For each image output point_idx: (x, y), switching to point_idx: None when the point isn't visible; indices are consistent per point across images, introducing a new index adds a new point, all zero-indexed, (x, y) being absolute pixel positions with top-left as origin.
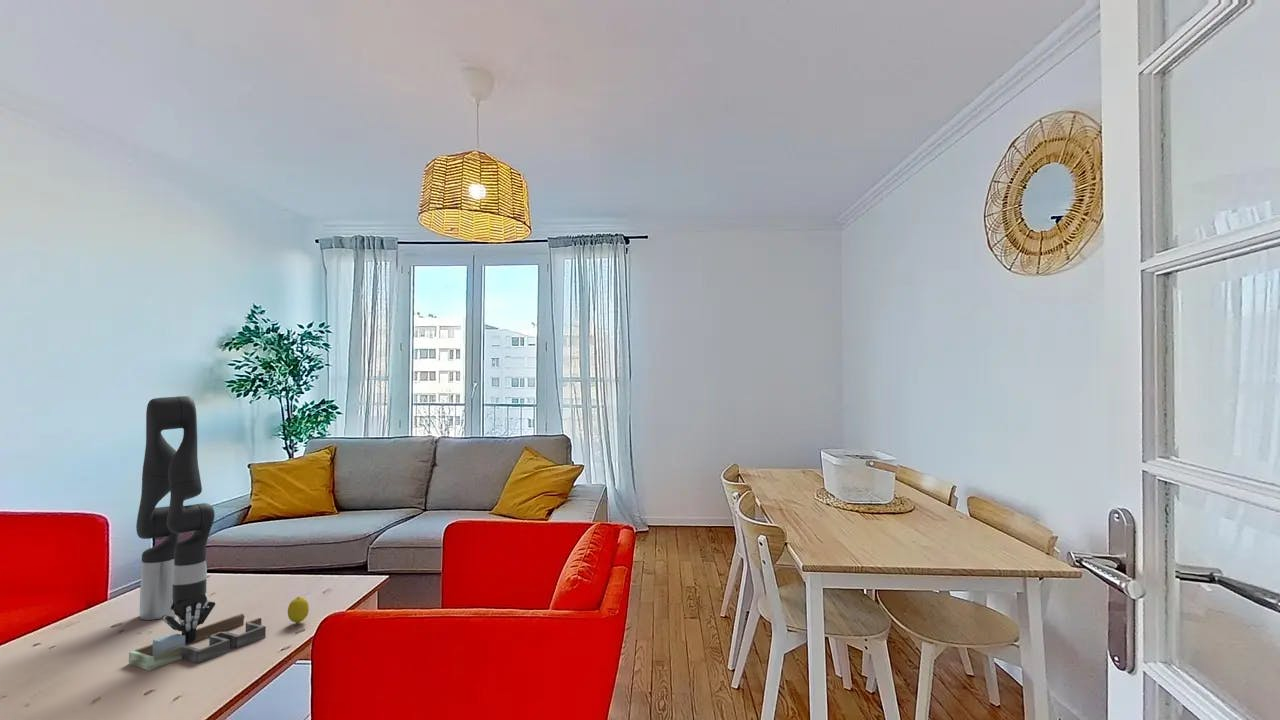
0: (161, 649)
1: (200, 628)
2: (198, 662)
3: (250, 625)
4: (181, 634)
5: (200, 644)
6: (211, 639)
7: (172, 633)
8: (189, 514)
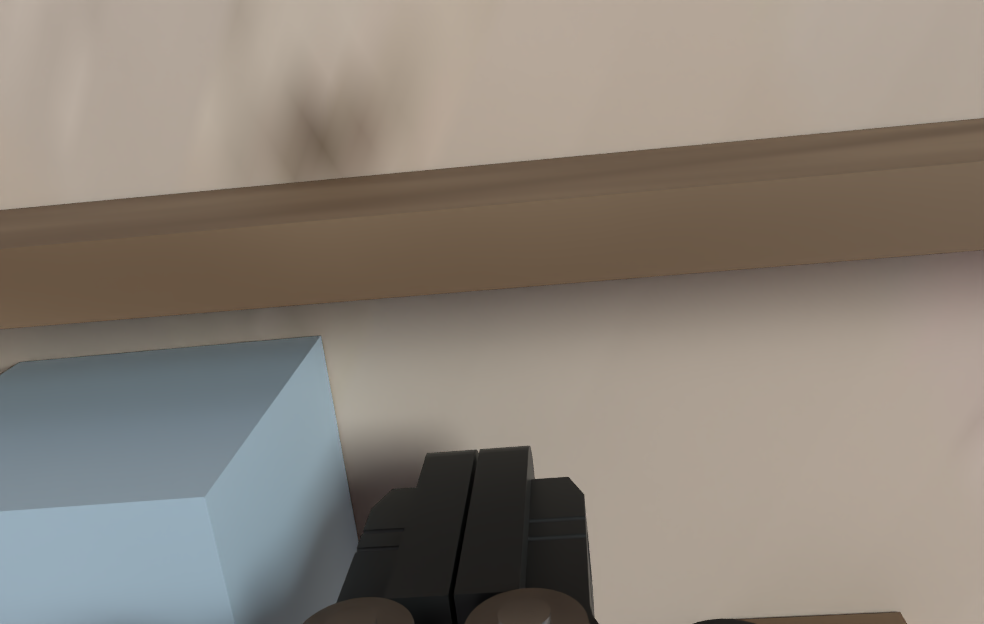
0: None
1: (918, 226)
2: None
3: None
4: (496, 225)
5: (703, 416)
6: None
7: (170, 518)
8: None
